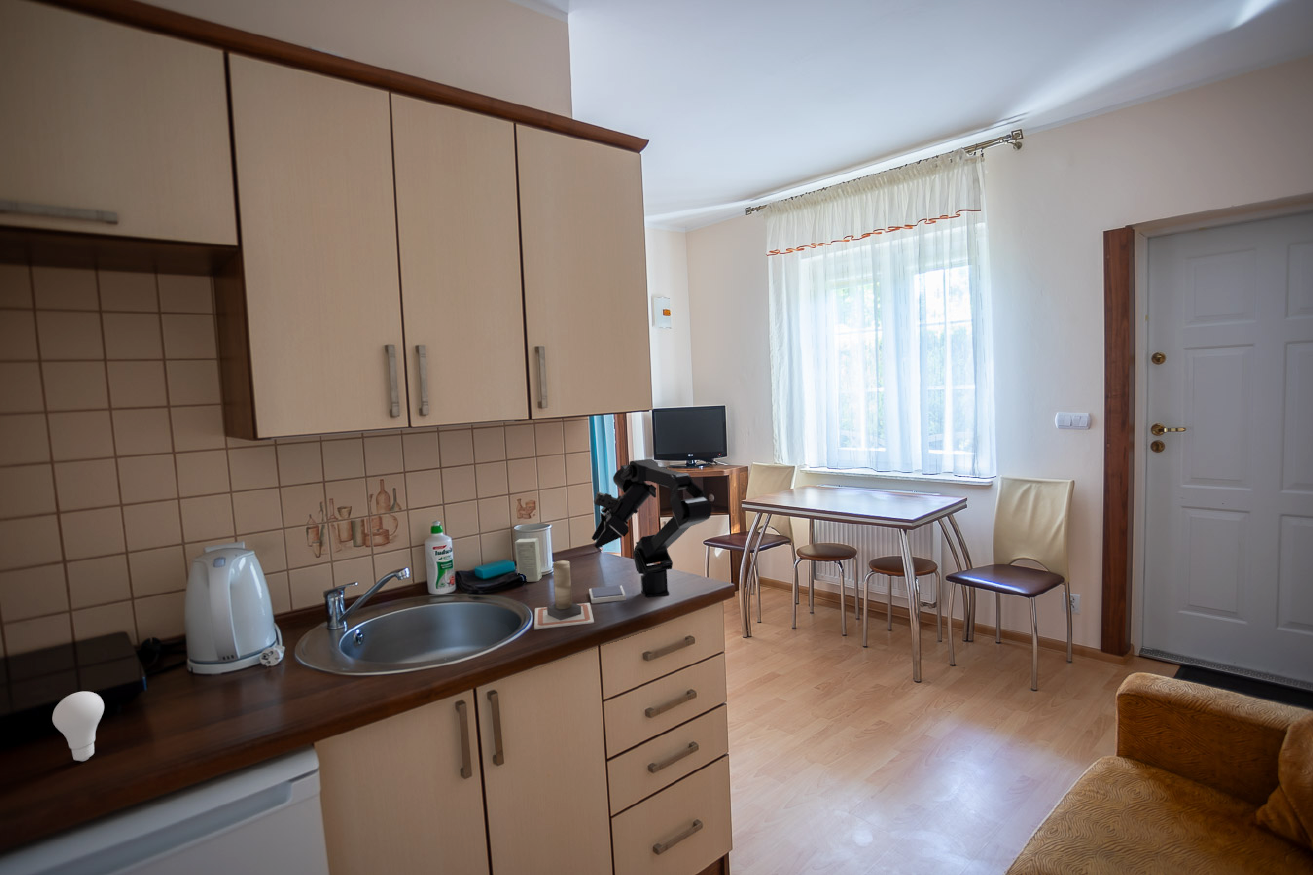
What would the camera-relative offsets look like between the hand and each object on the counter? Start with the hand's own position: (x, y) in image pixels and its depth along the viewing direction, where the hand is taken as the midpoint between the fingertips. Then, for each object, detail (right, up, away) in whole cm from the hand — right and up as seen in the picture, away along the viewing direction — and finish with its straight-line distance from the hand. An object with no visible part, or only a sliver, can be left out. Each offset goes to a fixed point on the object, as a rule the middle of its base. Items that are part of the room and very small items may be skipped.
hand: (594, 543), depth 176 cm
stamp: (-6, -15, -17) cm, 23 cm away
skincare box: (-21, -14, +16) cm, 29 cm away
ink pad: (+4, -14, -4) cm, 15 cm away
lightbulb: (-74, -23, -73) cm, 107 cm away
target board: (-6, -15, -17) cm, 24 cm away
